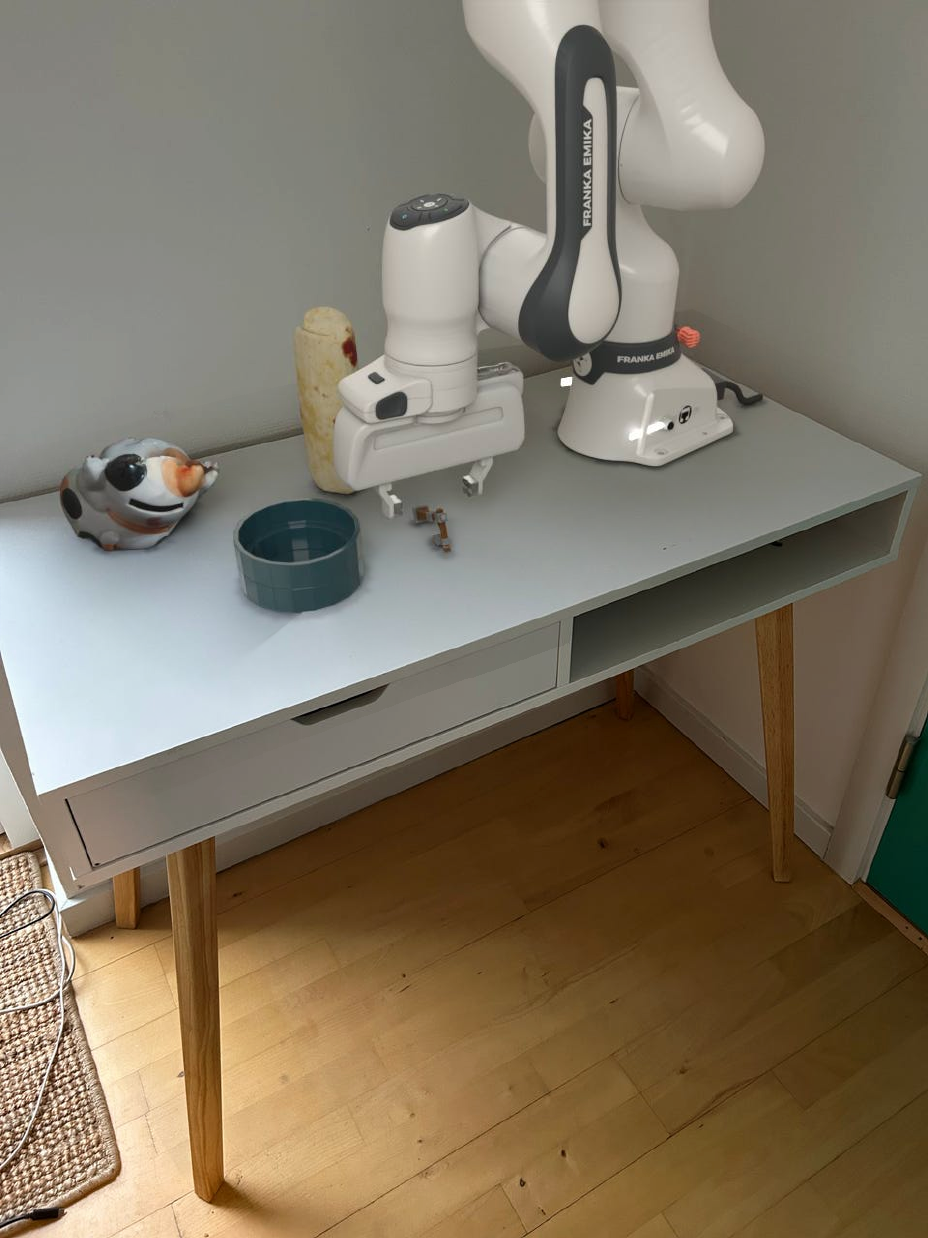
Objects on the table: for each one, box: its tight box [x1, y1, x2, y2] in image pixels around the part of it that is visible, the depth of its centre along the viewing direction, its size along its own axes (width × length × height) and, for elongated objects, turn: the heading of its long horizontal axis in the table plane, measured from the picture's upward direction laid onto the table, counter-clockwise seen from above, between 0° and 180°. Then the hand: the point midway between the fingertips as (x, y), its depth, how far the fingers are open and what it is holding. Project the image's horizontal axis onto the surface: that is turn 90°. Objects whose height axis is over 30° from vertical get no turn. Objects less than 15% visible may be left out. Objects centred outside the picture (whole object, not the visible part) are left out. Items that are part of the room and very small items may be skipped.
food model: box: [293, 306, 360, 495], centre depth 109 cm, size 10×7×20 cm
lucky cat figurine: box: [59, 437, 221, 551], centre depth 104 cm, size 15×12×14 cm
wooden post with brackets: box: [411, 503, 451, 553], centre depth 105 cm, size 2×8×4 cm, turn 23°
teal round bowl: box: [232, 497, 365, 613], centre depth 98 cm, size 12×12×6 cm
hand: (433, 504), depth 103 cm, fingers open, 8 cm apart
